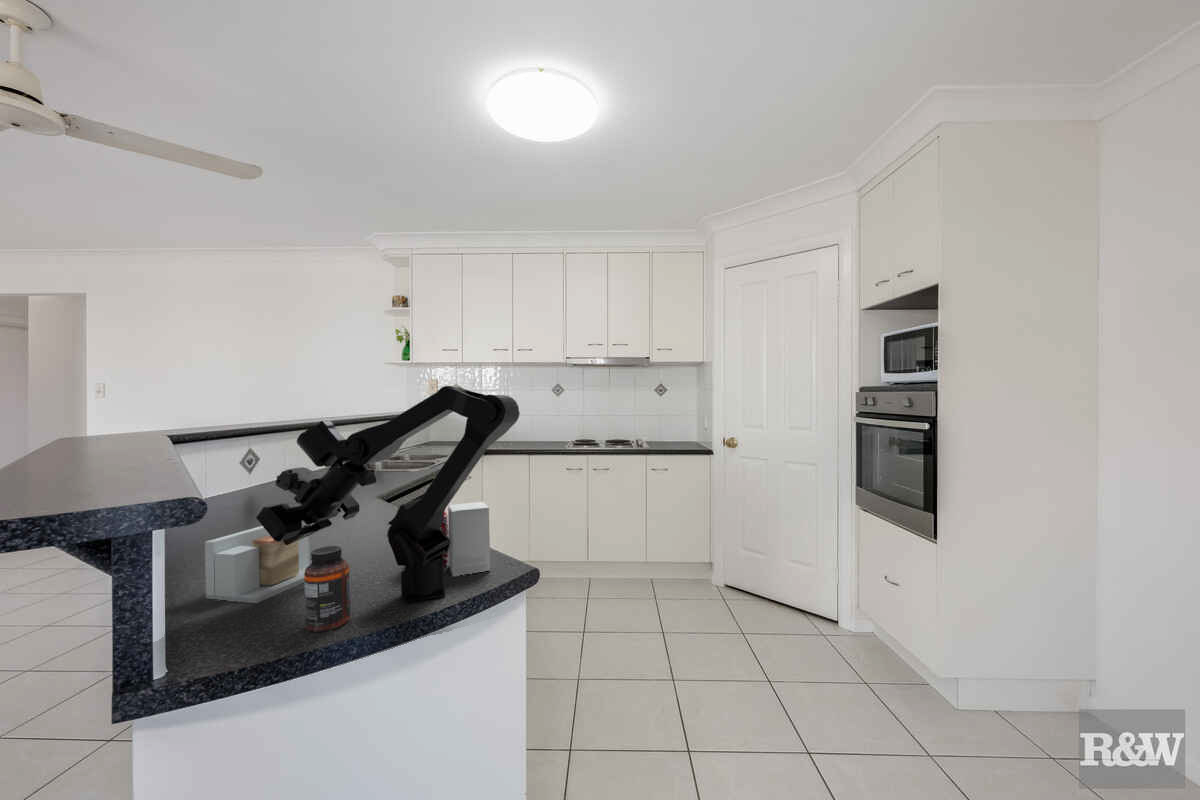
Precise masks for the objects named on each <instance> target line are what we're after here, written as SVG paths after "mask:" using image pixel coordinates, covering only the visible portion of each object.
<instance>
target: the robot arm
mask: <svg viewBox="0 0 1200 800" xmlns="http://www.w3.org/2000/svg"><path fill="white" fill-rule="evenodd" d="M452 413H456V414H457V415H460V416H462V417H464V418H466V423H465V429H464V434H463V436H462V438H461V439H460V441H459V442H458V444H457V445H456V446H455V448H454V449H453V451H452V453H450V455H449V456H448V458H447V459H446V461H445V463H444V464H443V466H442V467H441V468H440V469H439V471H438V473H437V474H436V475H435V477H434V478H433V480H432V482H431V483H430V484H429V486H428V487H427V488H426V490H425V491H424V493H423V494H422V496H421V497H420V498H418V499H414V500H412V501H409V502H406V503H404V504H401V505H400V506H399V508H398V509H397V511H396V514H395V516H394V517H393V519H391V520H390V521H388V523H387V524H388V525H390V526H389V528H388V529H387V533H386V537H387V540H388V541H387V542H388V543H389V545H390V548H391V551H392V553H393V556H394V559H395V562H396V565H397V566H401V568H400V587H401V588H400V589H401V591H400V594H401V597H403V598H404V603H405V604H406V603H407V604H409V603H413V602H420V601H421V602H422V601H426V600H432V598H433V599H437V598H443V597H445V596H446V589H445V581H444V580H445V578H444V577H445V576H444V572H445V571H444V570H445V569H444V566H443V555H442V554H443V553H445V552H447V551H448V550H449V547H450V543H451V540H450V539H449V536H448V537H447V536H446V535H445V534H444V533H443V532H442V531H441V529H440V527H441V525H442V522H443V516H444V511H445V512H446V508H448V506H449V505H450V502H451V501H452V499H453V498H454V497H455V495H456V494H457V493H458V492H459V490H460V489H461V487H462V485H463V484H464V482H465V481H466V480H467V479H468V477H469V475H470V474H471V472H472V471H473V470H474V468H475V467H476V465H477V464H478V462H479V461H480V459H481V458H482V457H483V455H484V454H485V452H486V451H487V449H488V448H489V447H490V446H491V445H492V444H494V443H495V442H496V441H497V440H499V439H500V438H502V437H503V436H504V435H505V434H506V433H507V432H508V431H509V430H510V429H511V428H512V427H513V426H514V425H515V424H516V423H517V421H518V419H519V418H520V414H521V413H520V409H519V405H518V403H517V401H516V400H515V399H514V398H513V397H511V396H510V395H505V394H484V393H480V392H475V391H472V390H469V389H465V388H463V386H462V387H461V386H456V385H454V386H453V385H445V386H442V387H441V388H439V390H437V392H435V393H433V394H431V395H430V396H428V397H426V398H425V399H422V400H421V401H420V402H418V403H417V404H415V405H413V406H412V407H409V408H408V409H407V410H404V411H403V412H402V413H400V414H398V415H397V416H395V417H393V418H391V419H390V420H389V421H387V422H384V423H381V424H377V425H374V426H370V427H367V428H365V429H364V428H363V429H361V430H359V431H356V432H353V433H351V434H350V435H349V436H348V437H347V438H345V437H344V436H343V435H342V434H341V433H340V432H339V430H338V429H337V428H336V426H335V425H334V423H333V422H332V421H331V420H321V421H319V423H318V424H316V425H314V426H312V427H309V428H308V429H306V430H305V431H304V432H301V433H300V434H299V435H298V437H297V439H296V444H297V445H298V447H299V448H301V450H302V451H303V452H304V453H305V454H306V456H307V457H308V458H309V459H310V461H311V462H312V463H313V464H314V465H315V466H316V467H326V468H328V469H327V471H325V473H324V474H323V475H320V474H318V473H317V472H314V471H313V470H311V469H309V468H307V467H302V466H301V467H295V468H287V469H285V470H283V471H281V473H280V474H279V475H277V476H276V480H275V485H276V487H278V488H279V489H281V490H283V491H284V492H286V491H288V492H289V493H292V494H294V495H295V496H294V497H293V500H294V501H295V502H296V503H297V504H300V505H298V506H292V507H291V506H289V504H288V503H287V502H280V503H279V502H278V503H276V504H275V503H274V504H270V505H267V506H262V508H261V509H260V510H259V512H258V513H257V514H256V516H255V518H256V520H257V521H258V522H259V524H261V526H263V527H264V528H265V530H266V531H267V532H268V533H269V534H270V536H271V537H272V538H273V539H274V540H275V541H278V542H280V541H283V542H284V543H285V545H290V544H292V543H294V542H296V541H298V540H301V539H303V538H305V537H307V536H309V537H310V536H312V535H314V534H316V533H318V532H320V531H322V530H325V529H327V528H330V527H331V526H332V525H333V522H332V521H331V520H330V519H332V518H335V517H337V516H338V515H339V514H340V513H341V512H342V511H343V512H344V514H343V515H342V519H343V520H344V521H347V520H350V519H354V518H355V517H356V515H358V513H359V512H360V504H359V502H358V501H357V500H356V499H355V498H354V496H353V495H352V493H353V492H354V491H355V490H356V488H357V487H358V486H361V487H366V486H370V485H374V484H376V483H377V476H376V475H375V474H376V473H375V472H376V470H375V469H374V468H372V469H370V468H369V467H368V466H367V465H370V464H373V463H379V462H384V461H387V460H388V459H389V458H391V457H392V456H393V455H394V454H395V453H397V451H398V450H400V449H401V447H402V445H403V444H404V443H405V441H407V440H408V439H409V438H411V437H413V436H414V435H416V434H418V433H419V432H421V431H423V430H424V429H425V430H426V428H428V427H430V426H432V425H434V424H435V423H436V422H439V420H442V419H444V418H445V417H447V416H449V415H450V414H452ZM421 547H422V548H423V549H422V548H421ZM402 566H403V567H402Z"/></svg>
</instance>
